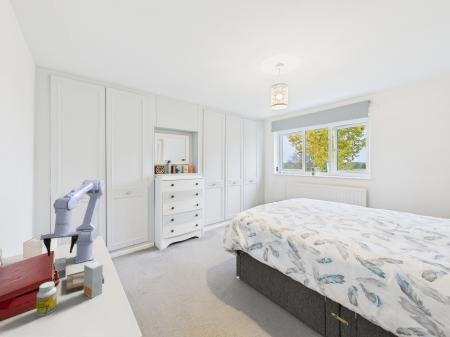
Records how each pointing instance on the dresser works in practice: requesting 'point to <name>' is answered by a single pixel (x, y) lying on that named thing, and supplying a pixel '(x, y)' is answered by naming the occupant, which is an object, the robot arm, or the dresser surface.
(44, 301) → the supplement bottle
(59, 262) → the housing
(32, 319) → the dresser surface
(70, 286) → the walnut stand
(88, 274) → the skincare box
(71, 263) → the dresser surface
